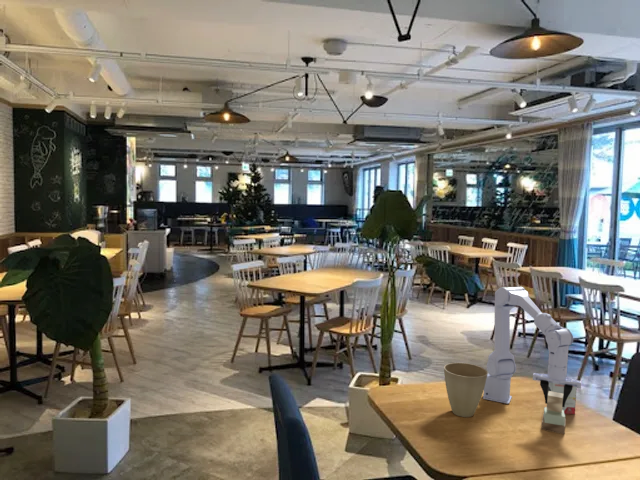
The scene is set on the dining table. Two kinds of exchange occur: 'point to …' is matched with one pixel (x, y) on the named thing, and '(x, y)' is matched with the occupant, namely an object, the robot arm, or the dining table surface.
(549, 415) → the sage top block
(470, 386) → the plant pot
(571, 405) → the ink box
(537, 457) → the dining table surface
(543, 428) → the walnut base block
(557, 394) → the maple block
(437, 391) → the dining table surface
